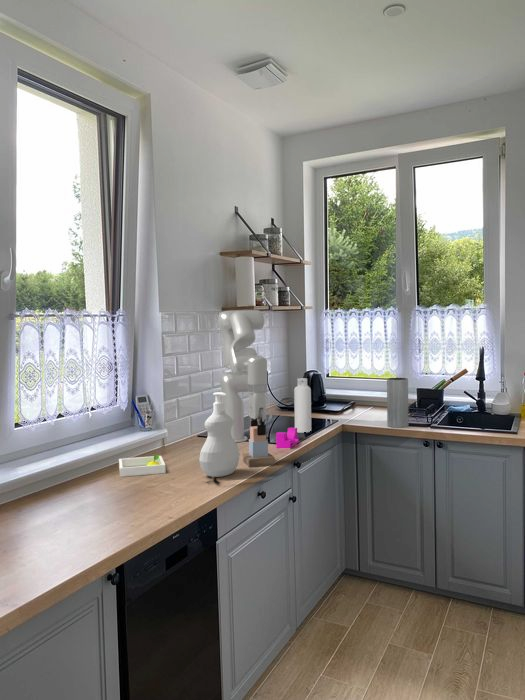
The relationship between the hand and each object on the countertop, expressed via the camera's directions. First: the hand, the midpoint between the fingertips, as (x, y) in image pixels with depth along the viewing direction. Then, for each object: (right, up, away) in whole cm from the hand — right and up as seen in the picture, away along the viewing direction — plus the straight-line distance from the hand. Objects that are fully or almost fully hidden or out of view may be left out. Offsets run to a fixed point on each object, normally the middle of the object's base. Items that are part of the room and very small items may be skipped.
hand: (258, 432), depth 215 cm
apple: (-40, -17, -2) cm, 44 cm away
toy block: (+14, -11, +29) cm, 34 cm away
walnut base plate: (0, -12, 0) cm, 12 cm away
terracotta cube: (0, -3, 0) cm, 3 cm away
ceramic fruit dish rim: (-44, -13, -7) cm, 46 cm away
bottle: (+21, -10, +54) cm, 59 cm away
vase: (+68, -9, +56) cm, 88 cm away
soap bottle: (-14, -13, -16) cm, 24 cm away
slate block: (0, -9, 0) cm, 9 cm away
